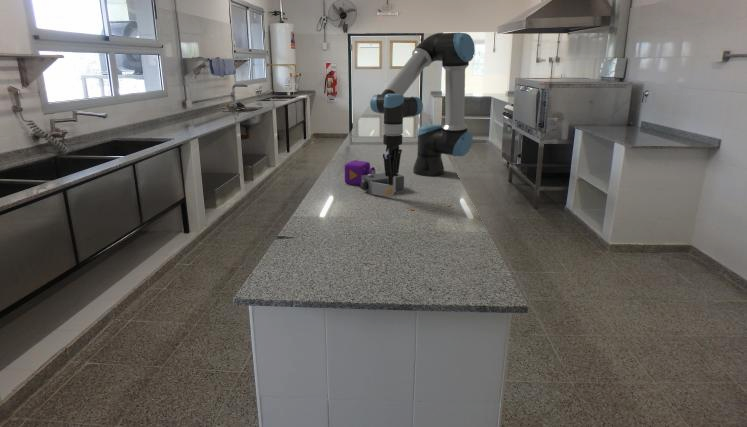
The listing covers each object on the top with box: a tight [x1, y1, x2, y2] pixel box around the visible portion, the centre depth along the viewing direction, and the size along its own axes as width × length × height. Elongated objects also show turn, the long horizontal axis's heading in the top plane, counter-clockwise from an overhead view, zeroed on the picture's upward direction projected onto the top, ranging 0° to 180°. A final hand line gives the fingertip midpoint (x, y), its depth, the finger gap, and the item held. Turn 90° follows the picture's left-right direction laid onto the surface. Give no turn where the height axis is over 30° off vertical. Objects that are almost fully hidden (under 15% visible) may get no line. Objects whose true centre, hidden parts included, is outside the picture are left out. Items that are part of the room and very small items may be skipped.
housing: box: [360, 172, 405, 195], centre depth 211 cm, size 18×9×7 cm, turn 117°
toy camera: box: [344, 158, 376, 186], centre depth 220 cm, size 11×14×10 cm
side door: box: [370, 181, 395, 198], centre depth 201 cm, size 10×2×6 cm, turn 60°
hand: (391, 191), depth 200 cm, fingers closed
